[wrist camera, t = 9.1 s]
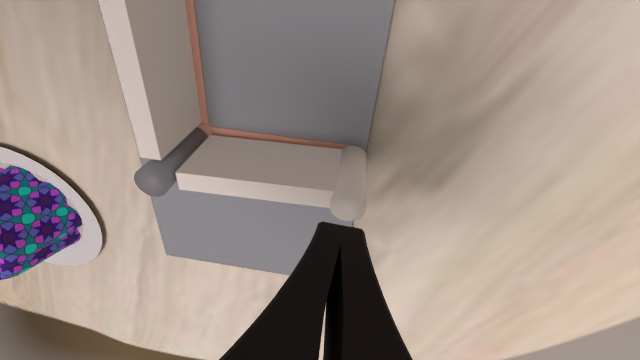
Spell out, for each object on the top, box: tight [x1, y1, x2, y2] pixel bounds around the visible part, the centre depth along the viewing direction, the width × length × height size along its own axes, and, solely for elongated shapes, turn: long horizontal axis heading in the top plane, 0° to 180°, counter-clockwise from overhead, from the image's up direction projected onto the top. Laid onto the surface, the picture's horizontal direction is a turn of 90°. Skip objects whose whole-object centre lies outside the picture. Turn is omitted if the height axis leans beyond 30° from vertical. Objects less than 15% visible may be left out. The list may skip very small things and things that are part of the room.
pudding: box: [0, 147, 102, 280], centre depth 24 cm, size 12×12×5 cm
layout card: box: [98, 0, 395, 275], centre depth 19 cm, size 22×14×1 cm, turn 175°
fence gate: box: [175, 135, 367, 221], centre depth 17 cm, size 9×2×4 cm, turn 87°
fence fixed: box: [98, 0, 208, 197], centre depth 15 cm, size 11×2×5 cm, turn 175°
